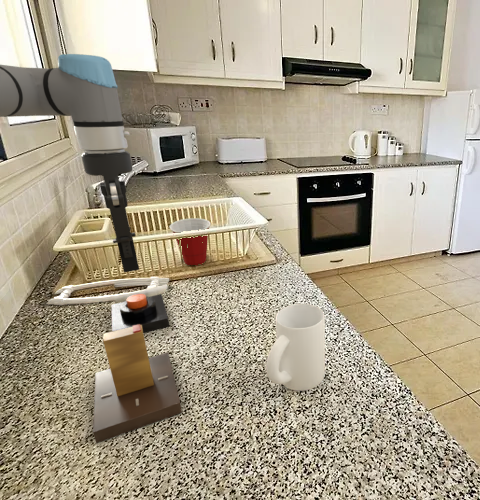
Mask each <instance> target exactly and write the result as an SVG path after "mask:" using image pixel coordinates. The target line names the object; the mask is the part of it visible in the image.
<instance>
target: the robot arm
mask: <svg viewBox="0 0 480 500" xmlns="http://www.w3.org/2000/svg"><path fill="white" fill-rule="evenodd" d="M57 66H58V67H52V68H46V67H44V68H43V67H26V66H25V67H24V66H16V65H7V64H0V118H8V117H9V118H10V117H11V118H12V117H50V116H51V117H53V116H54V117H56V116H57V117H58V116H63V117H71V120H72V124H73V129H74V133H75V134H74V135H75V138H76V141H77V145H78V149H79V150H80V151H82V152H83V153H82V154H81V155H80V156H81V161H82V164H83V169H84V173H85V174H87V175H88V176H94V177H98V176H101V177H103V181H104V182H100V183H99V187H100V192H101V195H103V198H104V202H105V206H106V208H107V209H109V212H110V217H111V221H112V226H113V229H114V234H115V238H113V239H112V243H113V244H117V246H118V247H117V248H118V252H119V257H120V261H121V265H122V269H123V273H129V272H135V271H140V266H139V261H138V257H137V252H136V246H135V243H134V237H136V236H137V235H136V232H135V231H134V232H131V231H132V229H131V226H130V224H129V223H130V221H129V217H128V214H127V207H128V204H129V203H128V199H127V195H126V193H127V187H126V182H125V180H120V178H119V175H125V174H129V173H131V172H132V171H133V169H134V168H133V163H132V157H131V153H130V152H129V151H127V150H126V149H128V147H129V145H128V140H127V137H130V136H131V134H130V131H128V130H125V126H124V125H125V124H124V120H123V115H122V108H121V103H120V98H119V97H120V96H119V92H118V87H119V86H118V84H117V82H116V79H115V74H114V71H113V67H112V64H111V62H110V60H108V59H107V58H105V57H103V56H99V55H94V54H93V55H92V54H80V53H67V54H65V53H62V54H60V55H58V57H57Z"/></svg>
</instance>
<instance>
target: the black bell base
mask: <svg viewBox="0 0 480 500" xmlns="http://www.w3.org/2000/svg"><path fill="white" fill-rule="evenodd" d="M146 299H147V305H145V306H143V307H141V308H136V309H129V308H128V305H127V301H124V302H117V303H112V304H111V305H110V307H111V309H110V310H111V332H113V331H117V330H121V329H125V328H130V327H133V326H134V325H138V324H140V325H142V329H143V334H147V333H150V332H155V331H159V330H162V329H166V328H170V327H171V326H170V320H169V315H168V313H167V309H166V304H165V302H164V298H163V293H162V294H158V295H155V296H150V297H147V296H146Z"/></svg>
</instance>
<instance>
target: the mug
mask: <svg viewBox="0 0 480 500" xmlns="http://www.w3.org/2000/svg"><path fill="white" fill-rule="evenodd" d="M274 320H275V336H276V340H275V341H274V343H273V344H272V345H271V348H270V349H269V352H268V355H267V358H266V361H265V372H266V376H267V378H268V380H269V381H270V382H271V383H272V384H275V385H283V387H285V388H286V389H288V390H290V391H296V392H303V391H308V390H312V389H314V388H316V387H318V386H319V385H320V384H321V383H322V382H323V380H324V379H325V377H326V317H325V313H324V311H323V309H322V308H320V307H319V306H317V305H314V304H310V303H293V304H290V305H287V306H284V307H282V308H281V309H280V310H278V311H277V313H276V315H275V318H274Z"/></svg>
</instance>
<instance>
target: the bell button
mask: <svg viewBox="0 0 480 500" xmlns="http://www.w3.org/2000/svg"><path fill="white" fill-rule="evenodd" d="M126 300H127V305H128V308H129V309H136V308H141V307H143V306H145V305H147V299H146V295H144V294H135V295H132V296H130V297H128V298H127V299H126Z"/></svg>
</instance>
